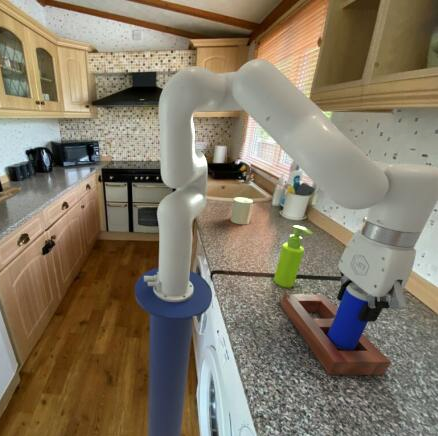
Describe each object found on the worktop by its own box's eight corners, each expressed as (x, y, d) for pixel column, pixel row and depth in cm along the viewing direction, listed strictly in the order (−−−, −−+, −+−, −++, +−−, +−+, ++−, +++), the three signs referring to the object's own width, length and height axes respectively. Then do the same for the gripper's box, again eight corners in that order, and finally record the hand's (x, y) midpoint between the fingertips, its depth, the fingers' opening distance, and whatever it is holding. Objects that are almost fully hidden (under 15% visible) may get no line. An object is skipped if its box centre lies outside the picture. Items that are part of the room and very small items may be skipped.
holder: (329, 374, 51) (335, 361, 49) (280, 305, 70) (283, 294, 68) (383, 375, 51) (391, 362, 49) (320, 305, 70) (324, 294, 68)
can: (236, 225, 121) (240, 202, 116) (227, 218, 129) (230, 196, 125) (252, 223, 123) (257, 201, 118) (242, 216, 131) (245, 195, 127)
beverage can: (339, 331, 58) (362, 280, 52) (360, 350, 53) (387, 296, 47) (321, 334, 57) (341, 282, 51) (340, 353, 52) (365, 299, 47)
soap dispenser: (288, 291, 75) (305, 234, 67) (269, 278, 81) (283, 224, 73) (300, 286, 77) (318, 230, 70) (282, 274, 83) (296, 221, 75)
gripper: (334, 215, 52) (311, 283, 59) (415, 258, 37) (371, 344, 44) (369, 215, 52) (342, 284, 59) (465, 258, 37) (412, 344, 44)
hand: (354, 308), depth 51 cm, fingers closed on beverage can, 5 cm apart
